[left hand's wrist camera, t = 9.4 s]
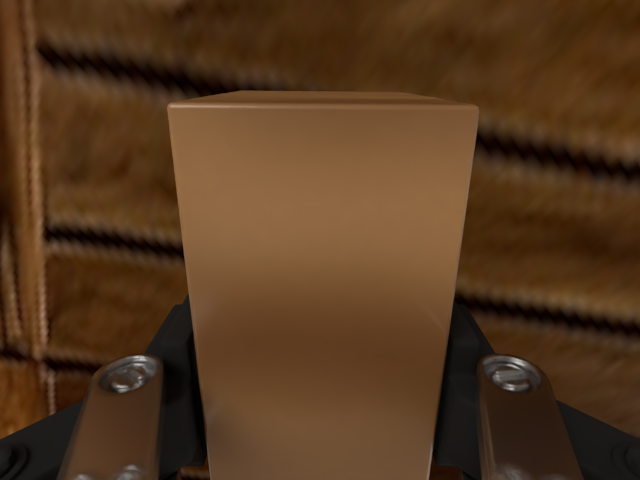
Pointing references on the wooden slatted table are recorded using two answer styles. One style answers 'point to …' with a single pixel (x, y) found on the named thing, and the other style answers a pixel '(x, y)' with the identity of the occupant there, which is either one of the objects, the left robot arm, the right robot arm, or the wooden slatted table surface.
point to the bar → (321, 275)
